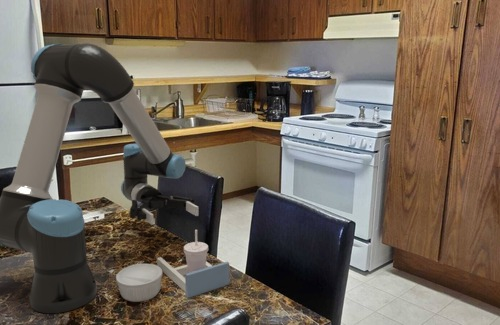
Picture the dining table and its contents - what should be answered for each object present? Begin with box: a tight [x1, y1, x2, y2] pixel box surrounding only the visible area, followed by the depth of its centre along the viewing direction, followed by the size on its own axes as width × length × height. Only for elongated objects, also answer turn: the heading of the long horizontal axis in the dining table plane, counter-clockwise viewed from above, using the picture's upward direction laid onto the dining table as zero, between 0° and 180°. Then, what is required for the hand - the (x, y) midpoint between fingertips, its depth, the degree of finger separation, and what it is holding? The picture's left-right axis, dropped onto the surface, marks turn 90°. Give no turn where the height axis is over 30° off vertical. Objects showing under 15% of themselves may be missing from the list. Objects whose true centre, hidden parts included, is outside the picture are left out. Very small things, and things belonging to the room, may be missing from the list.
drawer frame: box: [156, 256, 230, 299], centre depth 116 cm, size 12×20×6 cm, turn 35°
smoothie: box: [183, 229, 209, 273], centre depth 112 cm, size 6×6×14 cm
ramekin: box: [115, 263, 164, 303], centre depth 107 cm, size 11×11×5 cm
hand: (175, 215), depth 120 cm, fingers open, 13 cm apart
